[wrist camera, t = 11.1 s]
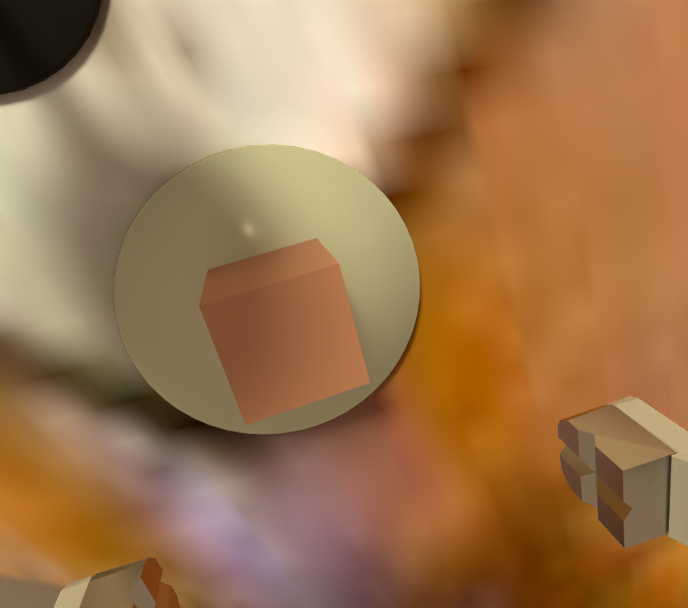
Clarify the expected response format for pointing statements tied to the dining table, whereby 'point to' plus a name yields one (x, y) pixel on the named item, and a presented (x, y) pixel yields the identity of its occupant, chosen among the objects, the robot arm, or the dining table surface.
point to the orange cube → (283, 329)
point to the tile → (250, 240)
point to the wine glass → (41, 38)
